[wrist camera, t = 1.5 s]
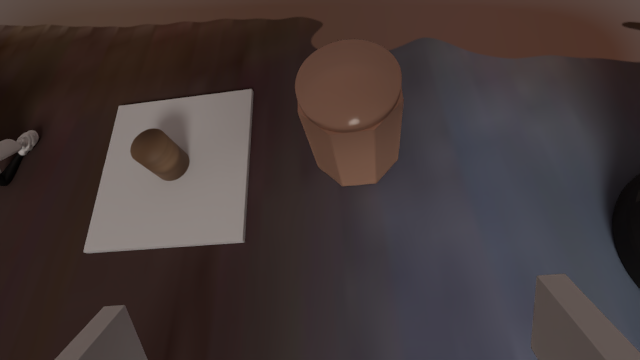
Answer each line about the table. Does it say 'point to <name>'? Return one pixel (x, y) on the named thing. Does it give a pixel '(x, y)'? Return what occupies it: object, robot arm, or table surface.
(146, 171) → the mat
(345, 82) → the brown faceted jar
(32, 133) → the cricket player figurine
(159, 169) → the walnut block
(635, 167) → the table surface
